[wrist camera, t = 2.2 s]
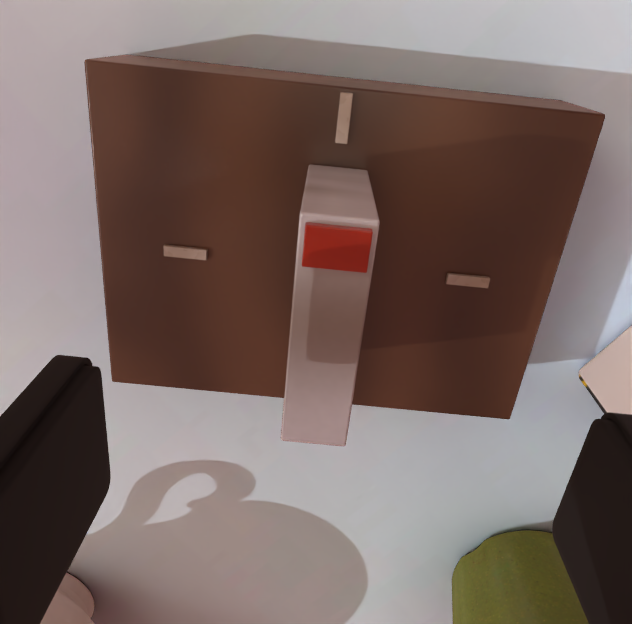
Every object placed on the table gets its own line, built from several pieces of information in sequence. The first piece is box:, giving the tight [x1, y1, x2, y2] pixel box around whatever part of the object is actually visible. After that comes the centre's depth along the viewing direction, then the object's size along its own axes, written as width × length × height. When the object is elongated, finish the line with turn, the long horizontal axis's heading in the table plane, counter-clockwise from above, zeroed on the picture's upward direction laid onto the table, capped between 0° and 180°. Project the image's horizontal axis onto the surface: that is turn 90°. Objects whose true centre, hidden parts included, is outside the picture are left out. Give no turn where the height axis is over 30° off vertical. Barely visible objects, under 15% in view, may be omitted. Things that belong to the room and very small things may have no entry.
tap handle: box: [281, 164, 380, 446], centre depth 16 cm, size 6×2×5 cm, turn 174°
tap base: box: [85, 55, 605, 419], centre depth 20 cm, size 15×11×4 cm
